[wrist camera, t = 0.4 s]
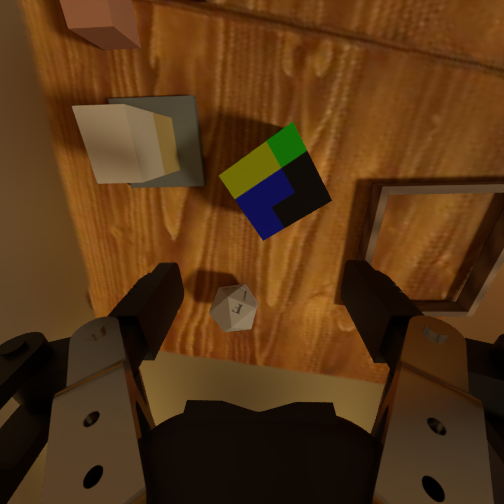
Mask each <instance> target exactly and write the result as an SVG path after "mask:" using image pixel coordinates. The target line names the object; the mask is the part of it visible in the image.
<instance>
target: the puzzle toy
mask: <svg viewBox="0 0 504 504" xmlns="http://www.w3.org/2000/svg"><path fill="white" fill-rule="evenodd" d="M219 177H220V179H221V180H222V182H223V183H224V184H225V186H226V187H227V189H228V190H229V192H230V193H231V195H232V196H233V198H234V199H235V200H236V202H237V203H238V205H239V206H240V208H241V209H242V211H243V212H244V214H245V215H246V216H247V218H248V219H249V221H250V222H251V224H252V225H253V227H254V228H255V230H256V231H257V232H258V234H259V235H260V237H261V238H262V240H265V239H267V238H269V237H270V236H272V235H274V234H275V233H277V232H279V231H281V230H282V229H284V228H286V227H288V226H289V225H291V224H293V223H294V222H296V221H298V220H300V219H301V218H303V217H305V216H306V215H308V214H310V213H312V212H313V211H315V210H317V209H318V208H320V207H322V206H324V205H325V204H327V203H329V202H331V201H332V200H331V198H330V196H329V193H328V191H327V189H326V187H325V185H324V183H323V181H322V179H321V177H320V175H319V173H318V171H317V169H316V167H315V165H314V163H313V161H312V159H311V157H310V155H309V153H308V151H307V149H306V147H305V145H304V143H303V141H302V139H301V137H300V135H299V133H298V131H297V129H296V127H295V125H294V123H293V122H292V123H290V124H289V125H287V126H286V127H284V128H283V129H282V130H280V131H279V132H277V133H276V134H275V135H273V136H272V137H271V138H269V139H268V140H266V141H265V142H264V143H262V144H261V145H260V146H258V147H257V148H255V149H254V150H253V151H251V152H250V153H249V154H247V155H246V156H245V157H243V158H242V159H240V160H239V161H238V162H236V163H235V164H234V165H232V166H231V167H229V168H228V169H227V170H225V171H224V172H223V173H222V174H220V175H219Z"/></svg>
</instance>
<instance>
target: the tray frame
mask: <svg viewBox="0 0 504 504" xmlns="http://www.w3.org/2000/svg"><path fill="white" fill-rule="evenodd" d="M449 193H504V181H461V182H412V183H373V187H372V191H371V196H370V200H369V205H368V210H367V214H366V219H365V223H364V228H363V232H362V237H361V241H360V246H359V251H358V255H357V260H366V261H367V262H368V263H369V264H370V265H371V262H372V258H373V254H374V250H375V247H376V243H377V239H378V235H379V231H380V227H381V223H382V219H383V215H384V211H385V208H386V204H387V200H388V196H389V195H394V194H449ZM503 262H504V208H503V210H502V212H501V214H500V216H499V218H498V220H497V222H496V224H495V226H494V228H493V230H492V232H491V234H490V236H489V238H488V240H487V242H486V244H485V246H484V248H483V250H482V252H481V254H480V256H479V258H478V260H477V261H476V263H475V265H474V267H473V269H472V271H471V273H470V275H469V277H468V279H467V281H466V283H465V285H464V287H463V289H462V291H461V293H460V295H459V297H458V299H457V301H456V302H413V303H414V304H415V305H416V306H417V308H418V309H419V310H420V311H421V312H422V313H423V314H424V315H425V316H464V317H467V316H468V317H469V316H470V317H471V316H473V314H474V313H475V311H476V309H477V307H478V306H479V304H480V302H481V300H482V299H483V297H484V295H485V293H486V292H487V290H488V288H489V286H490V285H491V283H492V281H493V279H494V278H495V276H496V274H497V272H498V271H499V269H500V267H501V265H502V264H503Z"/></svg>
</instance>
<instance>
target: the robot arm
mask: <svg viewBox="0 0 504 504" xmlns="http://www.w3.org/2000/svg"><path fill="white" fill-rule="evenodd" d="M341 297H342V300H343V302H344V304H345V306H346V308H347V310H348V312H349V314H350V316H351V318H352V320H353V322H354V324H355V326H356V328H357V330H358V332H359V334H360V336H361V338H362V340H363V342H364V344H365V346H366V348H367V350H368V351H369V353H370V355H371V357H372V359H373V361H374V363H387V364H388V366H389V368H390V370H389V372H388V375H387V378H386V382H385V386H384V389H383V393H382V397H381V401H380V404H379V408H378V412H377V415H376V419H375V422H374V425H373V428H372V431H371V433H368V432H367V431H365V430H364V429H363V428H361V427H359V426H358V425H356V424H354V423H353V422H351V421H349V420H346V419H344V418H342V417H339V416H336V413H335V409H334V406H333V403H329V402H327V403H326V402H294V403H290V404H287V405H283V406H280V407H277V408H273V409H269V410H266V411H262V412H256V411H252V410H249V409H246V408H243V407H240V406H237V405H234V404H231V403H227V402H224V401H208V400H205V401H204V400H187V402H186V405H185V409H184V413H181V414H179V415H176V416H174V417H172V418H169V419H168V420H166V421H164V422H162V423H160V424H159V425H157V426H156V425H155V423H154V420H153V417H152V414H151V410H150V407H149V402H148V399H147V395H146V391H145V387H144V383H143V379H142V375H141V372H140V369H139V366H140V364H141V362H142V361H143V360H155V358H156V355H157V354H158V351H159V349H160V347H161V345H162V343H163V341H164V339H165V337H166V335H167V333H168V331H169V329H170V327H171V324H172V322H173V320H174V318H175V316H176V314H177V312H178V310H179V308H180V306H181V304H182V301H183V298H184V287H183V283H182V279H181V274H180V270H179V266H178V264H177V263H159V264H158V265H157V267H156V268H155V269H154V270H153V271H152V273H148V274H147V275H145V276H144V277H142V278H141V279H139V280H138V281H137V282H136V284H135V285H134V286H133V288H131V289H130V291H129V292H128V294H127V295H125V296H124V298H123V299H122V300H121V301H120V302H119V303H118V304H117V306H116V307H115V308H114V309H113V310H112V311H111V313H110V314H109V315H108V316H106V317H100V318H97V319H94V320H92V321H90V322H88V323H86V324H84V325H83V326H81V327H80V328H79V329H78V330H76V331H75V333H74V334H73V335H72V336H71V337H69V338H65V339H60V340H56V341H52V342H48V341H47V339H46V338H45V336H44V335H43V334H42V333H40V332H30V333H26V334H23V335H20V336H17V337H15V338H13V339H11V340H8V341H6V342H5V343H3V344H1V345H0V409H1V408H2V407H3V406H4V405H5V404H6V403H7V402H8V400H9V399H10V398H11V397H13V398H14V399H15V400H16V401H17V402H18V403H19V404H20V406H19V407H18V408H17V410H16V411H15V412H14V413H13V414H12V415H11V416H10V418H9V419H8V420H7V421H6V422H5V423H4V425H3V426H2V427H1V428H0V504H7V502H8V501H9V500H10V498H11V497H12V495H13V493H14V492H15V490H16V489H17V487H18V486H19V484H20V483H21V481H22V480H23V478H24V477H25V475H26V474H27V472H28V471H29V469H30V467H31V466H32V465H33V463H34V462H35V460H36V458H37V457H38V455H39V454H40V452H41V451H42V449H43V448H44V446H45V445H46V443H47V442H48V445H47V454H46V463H45V470H44V478H43V487H42V495H41V504H494V502H493V494H492V485H491V475H490V465H489V456H488V446H487V440H488V442H489V443H490V445H491V446H492V447H493V449H494V450H495V452H496V453H497V455H498V456H499V458H500V459H501V460H502V462H503V463H504V334H502V335H500V336H499V337H498V339H497V340H496V342H495V343H494V344H490V343H486V342H481V341H477V340H472V339H468V338H464V337H463V335H462V334H461V333H460V332H459V331H458V330H457V329H456V328H454V327H452V326H451V325H450V324H448V323H446V322H444V321H442V320H440V319H437V318H434V317H430V316H425V315H424V314H423V313H422V312H421V311H420V310H419V309H418V308H417V306H416V305H415V304H414V303H413V302H412V301H411V300H410V299H409V298H408V297H407V296H406V295H405V294H404V293H402V290H401V289H400V288H399V287H398V286H396V284H395V283H394V282H393V281H392V280H391V279H390V277H388V276H387V275H385V274H383V273H382V272H380V271H378V270H374V269H373V268H372V266H371V265H370V264H369V263H368V262H367V261H366V260H348V261H347V262H346V264H345V269H344V275H343V280H342V285H341Z"/></svg>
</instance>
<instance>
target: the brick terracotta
mask: <svg viewBox="0 0 504 504" xmlns="http://www.w3.org/2000/svg"><path fill="white" fill-rule="evenodd" d="M60 3H61V6H62V10H63V13H64V16H65V20H66V23H67V26H68V29H70V30H71V31H73V32H75V33H76V34H78V35H80V36H81V37H83V38H85V39H86V40H88V41H90V42H91V43H93V44H95V45H96V46H98V47H100V48H101V49H103V50H114V49H134V48H141V47H140V42H139V37H138V32H137V27H136V21H135V16H134V11H133V6H132V1H131V0H60Z"/></svg>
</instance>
